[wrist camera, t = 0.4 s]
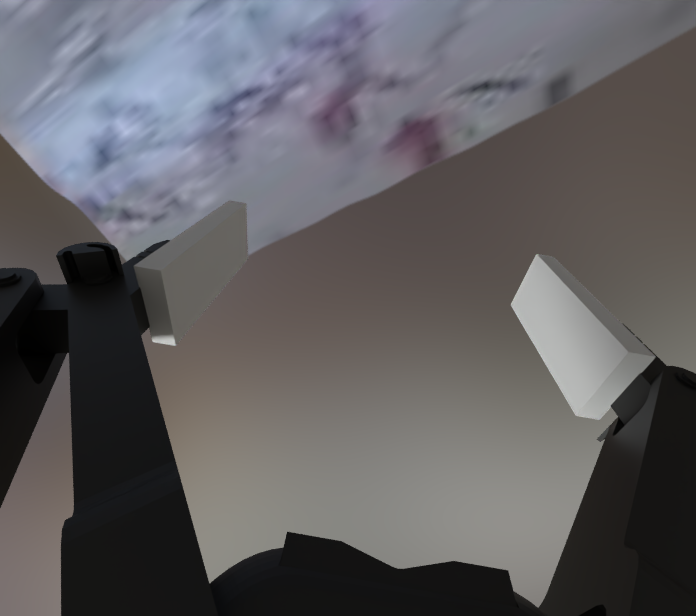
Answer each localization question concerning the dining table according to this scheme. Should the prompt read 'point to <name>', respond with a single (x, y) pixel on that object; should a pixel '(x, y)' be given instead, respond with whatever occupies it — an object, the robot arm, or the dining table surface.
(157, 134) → the dining table surface
